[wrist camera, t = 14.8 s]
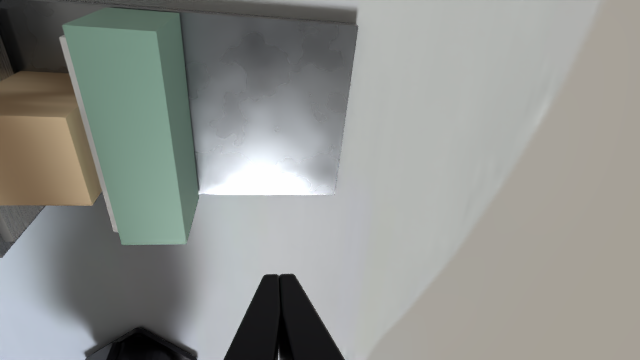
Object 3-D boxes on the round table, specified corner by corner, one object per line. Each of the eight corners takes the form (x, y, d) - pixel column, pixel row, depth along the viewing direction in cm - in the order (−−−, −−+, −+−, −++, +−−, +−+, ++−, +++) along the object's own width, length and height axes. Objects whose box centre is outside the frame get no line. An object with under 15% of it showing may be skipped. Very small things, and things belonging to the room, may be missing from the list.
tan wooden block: (113, 75, 17) (65, 117, 13) (129, 149, 19) (92, 205, 15) (20, 70, 17) (-61, 113, 13) (47, 147, 19) (-15, 205, 15)
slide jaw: (179, 13, 16) (156, 31, 13) (198, 197, 21) (186, 244, 18) (95, 6, 15) (48, 23, 12) (137, 197, 21) (113, 245, 17)
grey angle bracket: (355, 23, 18) (386, 52, 13) (333, 189, 23) (349, 251, 19) (-175, -19, 15) (-382, -1, 10) (-59, 186, 20) (-158, 260, 15)
